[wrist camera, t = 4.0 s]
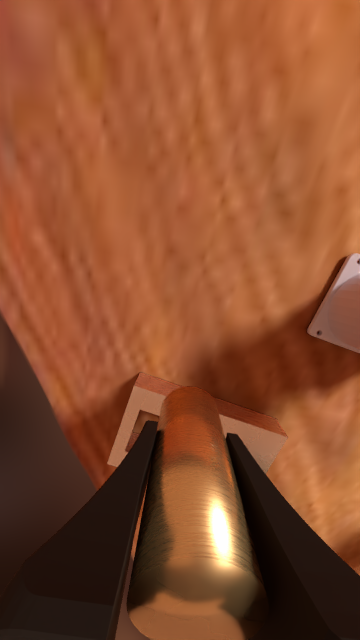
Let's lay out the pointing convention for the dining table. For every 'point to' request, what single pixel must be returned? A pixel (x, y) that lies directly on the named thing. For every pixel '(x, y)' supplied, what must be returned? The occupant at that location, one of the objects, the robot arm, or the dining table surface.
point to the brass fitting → (194, 534)
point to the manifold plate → (250, 426)
